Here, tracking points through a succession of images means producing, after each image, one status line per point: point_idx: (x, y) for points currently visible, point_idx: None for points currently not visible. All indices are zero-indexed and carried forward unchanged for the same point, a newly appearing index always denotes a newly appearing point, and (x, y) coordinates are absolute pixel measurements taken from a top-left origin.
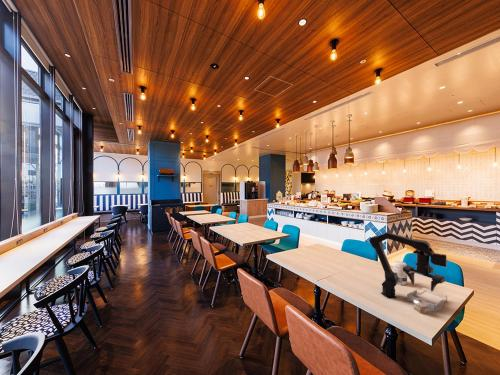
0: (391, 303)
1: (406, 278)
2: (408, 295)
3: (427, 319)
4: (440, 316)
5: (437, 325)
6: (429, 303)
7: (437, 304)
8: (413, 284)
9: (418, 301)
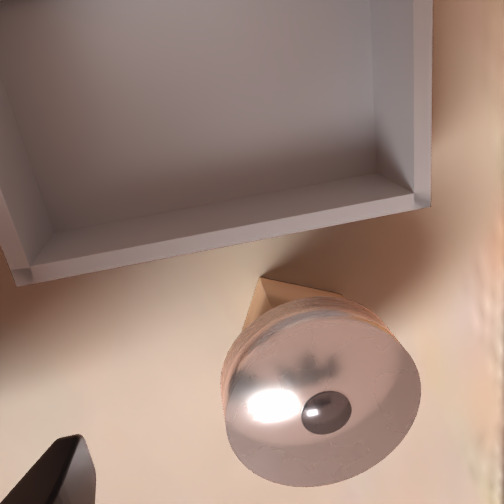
0: None
1: None
2: (42, 275)
3: None
4: (445, 212)
5: (480, 392)
6: (352, 219)
7: (427, 122)
8: (93, 477)
9: (323, 450)
